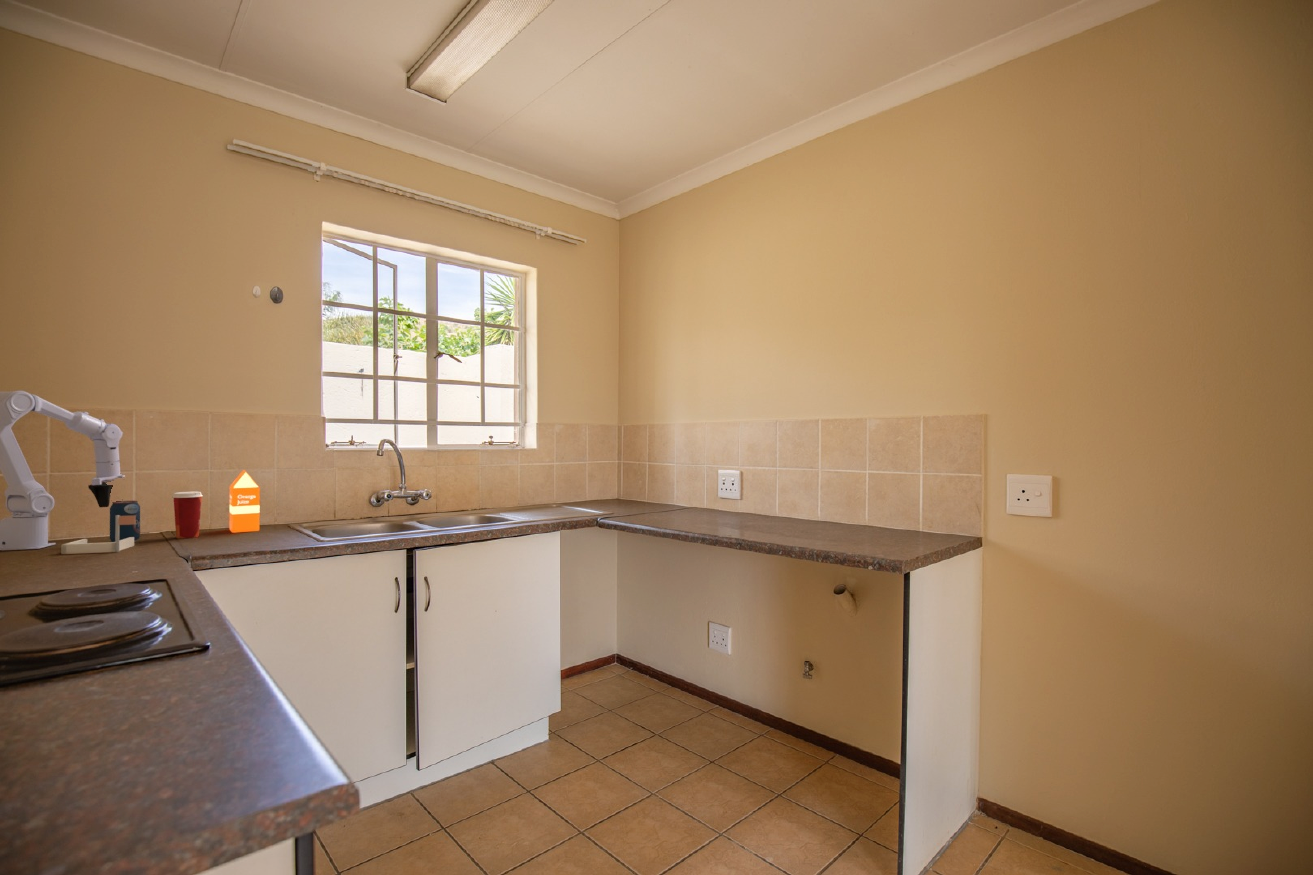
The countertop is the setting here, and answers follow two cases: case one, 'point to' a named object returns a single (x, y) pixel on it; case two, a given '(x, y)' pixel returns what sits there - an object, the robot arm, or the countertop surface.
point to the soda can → (125, 510)
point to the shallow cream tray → (116, 546)
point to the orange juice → (244, 504)
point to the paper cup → (187, 514)
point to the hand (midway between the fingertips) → (110, 505)
